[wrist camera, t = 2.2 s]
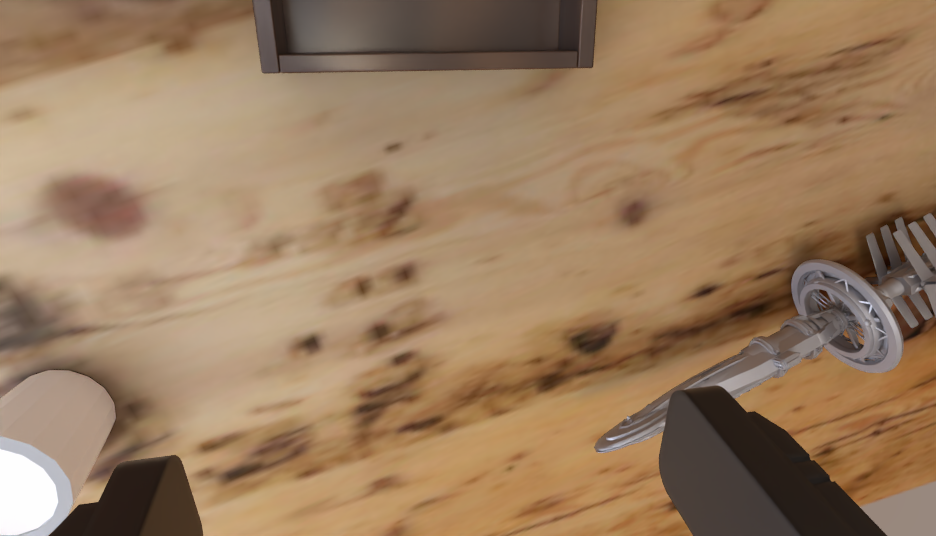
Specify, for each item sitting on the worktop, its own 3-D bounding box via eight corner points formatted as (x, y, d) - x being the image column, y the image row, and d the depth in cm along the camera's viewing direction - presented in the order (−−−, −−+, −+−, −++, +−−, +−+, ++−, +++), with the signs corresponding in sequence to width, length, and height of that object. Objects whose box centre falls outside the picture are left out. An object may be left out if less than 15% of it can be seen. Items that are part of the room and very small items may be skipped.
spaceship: (585, 408, 31) (652, 539, 31) (1109, 122, 33) (1168, 243, 34) (551, 381, 38) (605, 486, 39) (977, 152, 41) (1026, 250, 41)
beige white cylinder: (107, 352, 34) (44, 426, 27) (141, 446, 36) (91, 534, 30) (-20, 369, 33) (-116, 449, 26) (24, 465, 35) (-53, 559, 29)
